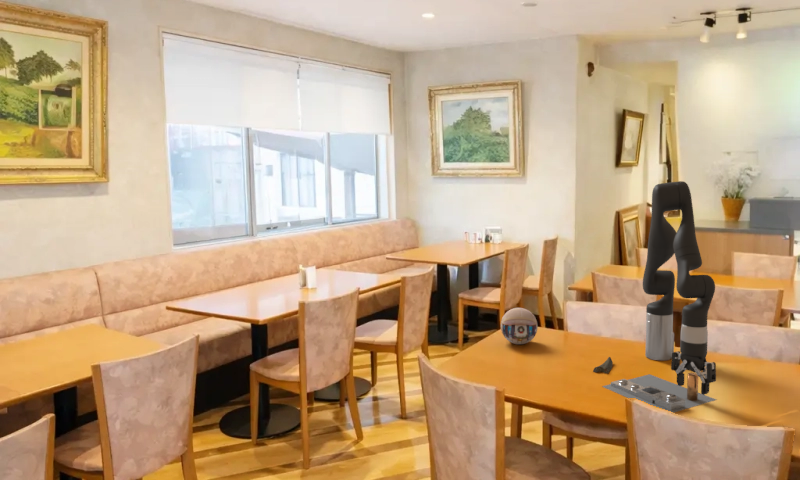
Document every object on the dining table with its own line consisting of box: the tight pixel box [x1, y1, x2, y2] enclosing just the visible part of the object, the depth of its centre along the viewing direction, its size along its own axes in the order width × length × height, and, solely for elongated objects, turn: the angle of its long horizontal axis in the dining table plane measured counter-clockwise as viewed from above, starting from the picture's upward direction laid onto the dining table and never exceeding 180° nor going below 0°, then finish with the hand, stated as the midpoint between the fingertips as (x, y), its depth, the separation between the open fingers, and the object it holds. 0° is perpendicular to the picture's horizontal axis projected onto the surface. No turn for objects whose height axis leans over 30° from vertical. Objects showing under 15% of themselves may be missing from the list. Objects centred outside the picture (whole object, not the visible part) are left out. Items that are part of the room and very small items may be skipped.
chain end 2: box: [636, 386, 685, 411], centre depth 190 cm, size 6×13×3 cm, turn 26°
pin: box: [686, 372, 699, 401], centre depth 191 cm, size 3×3×8 cm
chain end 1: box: [610, 378, 655, 403], centre depth 198 cm, size 6×17×2 cm, turn 26°
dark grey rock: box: [592, 356, 614, 375], centre depth 221 cm, size 13×5×4 cm, turn 138°
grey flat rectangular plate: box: [601, 374, 717, 414], centre depth 197 cm, size 22×26×1 cm
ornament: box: [500, 307, 538, 345], centre depth 253 cm, size 15×15×15 cm
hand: (692, 389), depth 191 cm, fingers open, 8 cm apart
